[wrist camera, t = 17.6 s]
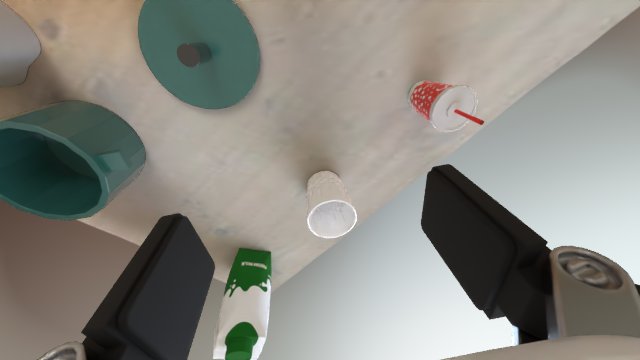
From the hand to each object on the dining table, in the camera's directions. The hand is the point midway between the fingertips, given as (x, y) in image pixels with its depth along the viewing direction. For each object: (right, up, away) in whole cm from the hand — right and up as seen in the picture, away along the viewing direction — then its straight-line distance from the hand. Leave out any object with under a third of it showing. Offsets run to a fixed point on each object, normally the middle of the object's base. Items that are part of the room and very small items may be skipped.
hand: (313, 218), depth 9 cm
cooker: (-34, +7, +27) cm, 44 cm away
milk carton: (-15, -17, +45) cm, 50 cm away
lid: (-15, +18, +22) cm, 32 cm away
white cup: (+1, +1, +36) cm, 36 cm away
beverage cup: (+17, +15, +29) cm, 37 cm away
